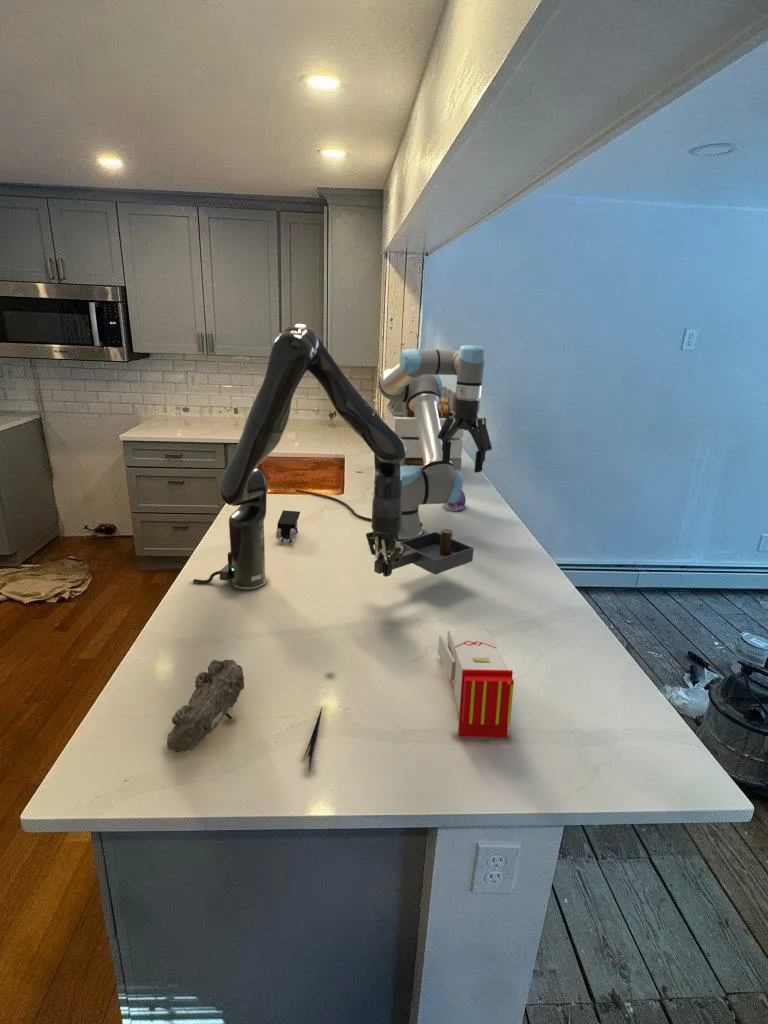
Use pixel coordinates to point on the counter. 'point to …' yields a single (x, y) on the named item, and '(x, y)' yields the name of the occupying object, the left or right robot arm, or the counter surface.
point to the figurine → (457, 503)
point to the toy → (478, 682)
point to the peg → (446, 542)
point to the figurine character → (287, 525)
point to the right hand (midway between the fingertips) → (461, 466)
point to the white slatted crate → (406, 428)
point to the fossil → (206, 705)
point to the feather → (313, 740)
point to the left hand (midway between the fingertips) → (383, 573)
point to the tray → (430, 554)
